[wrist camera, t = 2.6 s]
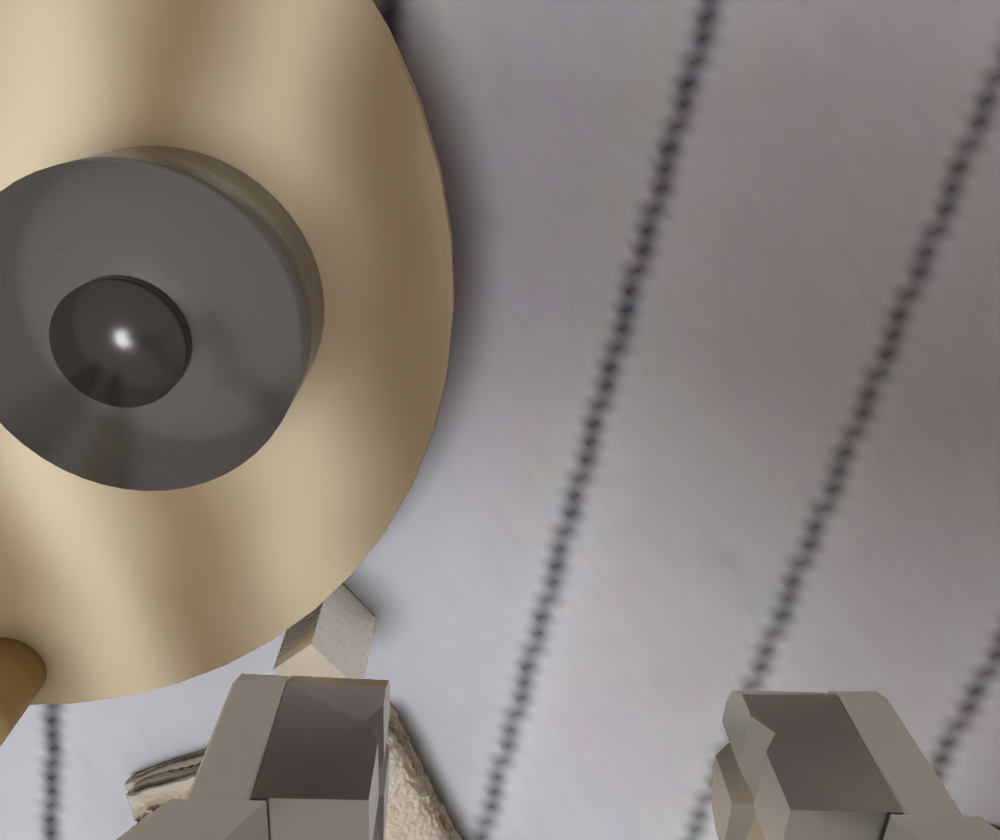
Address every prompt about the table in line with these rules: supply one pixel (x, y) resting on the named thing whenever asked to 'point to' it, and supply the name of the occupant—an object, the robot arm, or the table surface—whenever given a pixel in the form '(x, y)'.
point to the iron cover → (151, 316)
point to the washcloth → (411, 799)
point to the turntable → (325, 391)
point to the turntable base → (329, 640)
